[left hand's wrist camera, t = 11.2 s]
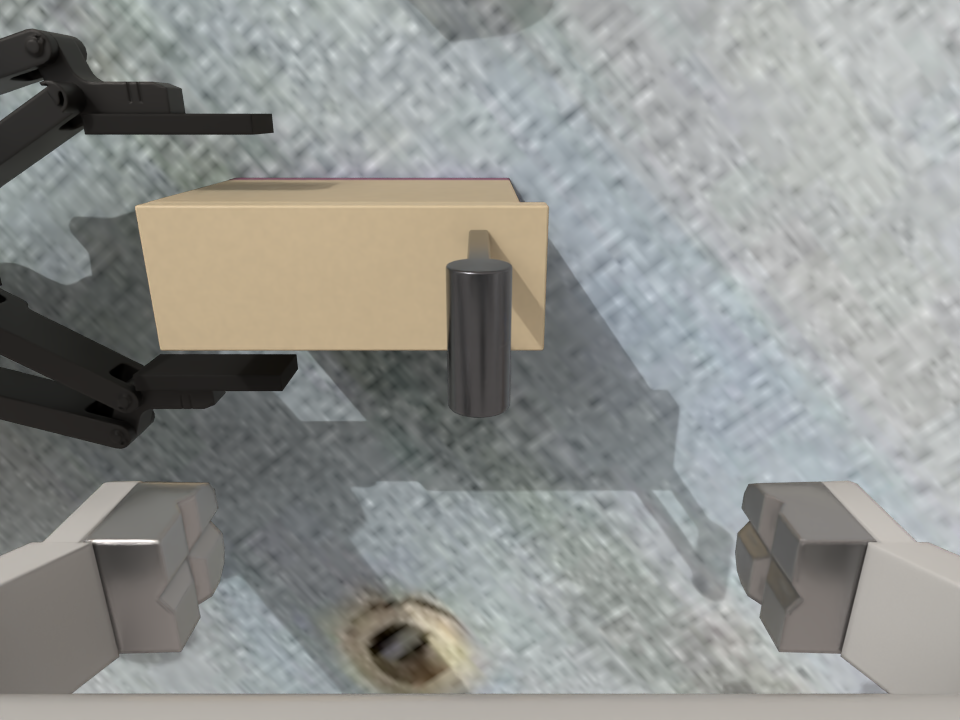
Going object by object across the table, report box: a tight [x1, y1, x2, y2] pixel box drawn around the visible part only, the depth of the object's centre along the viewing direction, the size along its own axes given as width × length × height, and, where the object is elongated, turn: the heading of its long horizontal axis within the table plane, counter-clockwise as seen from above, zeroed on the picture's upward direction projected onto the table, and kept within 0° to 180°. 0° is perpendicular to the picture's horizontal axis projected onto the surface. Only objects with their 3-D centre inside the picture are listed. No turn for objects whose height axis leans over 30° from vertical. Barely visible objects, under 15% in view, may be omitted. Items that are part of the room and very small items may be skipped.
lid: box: [135, 202, 549, 418], centre depth 21 cm, size 15×6×8 cm, turn 90°
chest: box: [150, 178, 519, 202], centre depth 30 cm, size 14×6×10 cm, turn 90°
